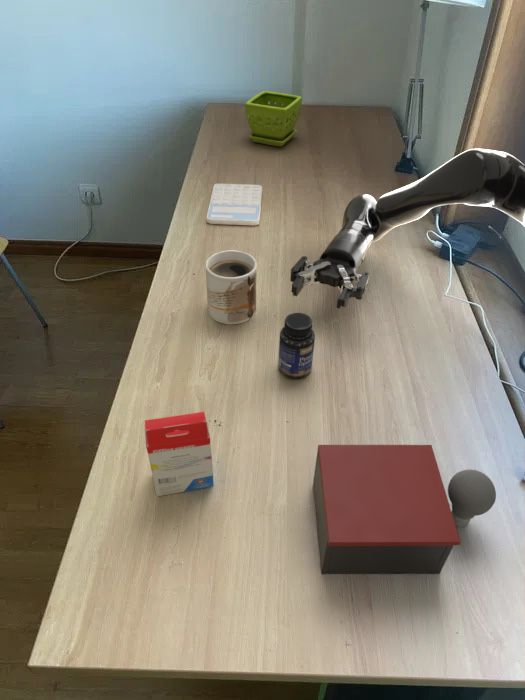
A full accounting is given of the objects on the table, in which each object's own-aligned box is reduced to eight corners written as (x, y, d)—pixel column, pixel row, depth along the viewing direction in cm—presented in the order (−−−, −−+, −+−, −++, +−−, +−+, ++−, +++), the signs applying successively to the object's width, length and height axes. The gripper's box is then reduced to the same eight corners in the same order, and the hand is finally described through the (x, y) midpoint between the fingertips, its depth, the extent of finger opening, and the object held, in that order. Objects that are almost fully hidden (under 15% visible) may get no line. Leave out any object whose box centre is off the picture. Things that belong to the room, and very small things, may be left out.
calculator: (262, 190, 154) (262, 183, 153) (259, 226, 139) (259, 219, 138) (214, 188, 155) (213, 181, 153) (205, 224, 140) (205, 217, 138)
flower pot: (300, 136, 184) (303, 95, 175) (284, 152, 174) (286, 109, 166) (261, 129, 188) (262, 88, 179) (243, 143, 178) (243, 102, 170)
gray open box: (440, 573, 74) (456, 539, 68) (321, 574, 73) (327, 539, 67) (417, 485, 84) (430, 448, 78) (312, 485, 83) (317, 448, 77)
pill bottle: (302, 384, 99) (306, 337, 91) (271, 372, 101) (273, 324, 94) (317, 364, 103) (322, 316, 96) (287, 352, 105) (290, 305, 98)
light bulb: (478, 506, 81) (499, 464, 74) (481, 544, 77) (504, 502, 70) (436, 498, 82) (453, 456, 75) (437, 535, 78) (455, 493, 71)
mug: (198, 301, 116) (195, 255, 109) (249, 285, 121) (249, 240, 113) (221, 330, 109) (219, 283, 102) (274, 312, 114) (276, 266, 107)
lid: (458, 545, 67) (460, 542, 66) (328, 546, 67) (329, 542, 66) (430, 448, 78) (431, 444, 77) (317, 448, 77) (318, 444, 77)
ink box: (209, 461, 86) (204, 395, 76) (214, 488, 83) (210, 422, 73) (153, 470, 85) (141, 404, 75) (155, 498, 81) (143, 432, 71)
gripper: (312, 230, 112) (281, 271, 101) (382, 246, 108) (357, 291, 97) (309, 262, 117) (279, 304, 106) (376, 279, 113) (351, 325, 102)
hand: (316, 298), depth 102 cm, fingers open, 8 cm apart
